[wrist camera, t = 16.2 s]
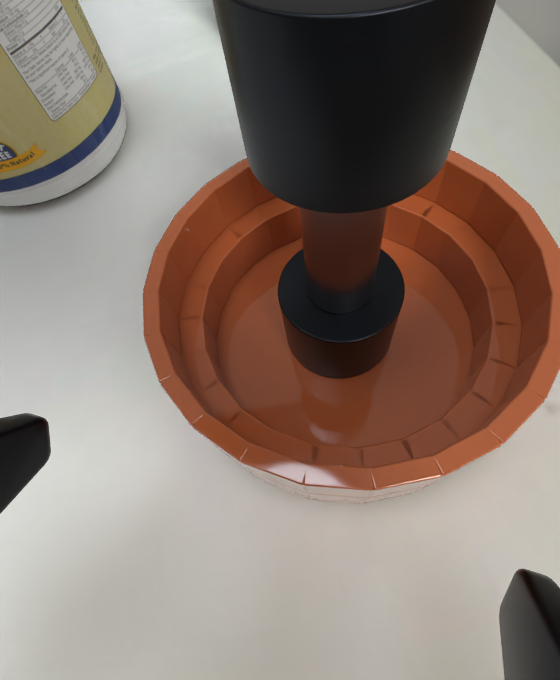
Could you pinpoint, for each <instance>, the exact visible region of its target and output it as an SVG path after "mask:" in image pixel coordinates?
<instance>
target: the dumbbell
mask: <svg viewBox="0 0 560 680" xmlns="http://www.w3.org/2000/svg"><path fill="white" fill-rule="evenodd" d="M212 1H213V6H214V10H215V15H216V20H217V24H218V29H219V33H220V38H221V42H222V47H223V51H224V56H225V60H226V65H227V69H228V74H229V78H230V83H231V87H232V92H233V96H234V101H235V105H236V110H237V114H238V119H239V123H240V128H241V133H242V137H243V142H244V146H245V151H246V155H247V160H248V163H249V166H250V169H251V170H252V172H253V174H254V176H255V177H256V179H257V180H258V181H259V182H260V183H261V185H262V186H263V187H264V188H266V189H267V190H268V191H269V192H270V193H271V194H273V195H275V196H276V197H278V198H279V199H281V200H283V201H285V202H287V203H289V204H291V205H294V206H297V207H299V210H300V220H301V231H302V241H303V249H301V250H300V251H298V252H297V253H296V254H295V255H294V256H293V257H292V258H291V259H290V260H289V261H288V263H287V264H286V266H285V267H284V269H283V271H282V273H281V275H280V279H279V283H278V299H279V304H280V309H281V313H282V318H283V322H284V327H285V331H286V336H287V341H288V344H289V347H290V349H291V351H292V353H293V355H294V356H295V358H296V359H297V360H298V361H299V362H300V363H301V364H302V365H303V366H304V367H305V368H307V369H308V370H310V371H312V372H314V373H316V374H318V375H321V376H324V377H329V378H350V377H355V376H358V375H361V374H363V373H365V372H367V371H369V370H371V369H372V368H374V367H375V366H376V365H377V364H378V363H379V362H380V361H381V360H382V359H383V357H384V356H385V355H386V353H387V351H388V349H389V346H390V343H391V340H392V337H393V333H394V330H395V327H396V324H397V320H398V317H399V314H400V311H401V307H402V304H403V301H404V295H405V285H404V279H403V276H402V273H401V271H400V269H399V267H398V265H397V264H396V263H395V261H394V260H393V259H392V258H391V257H390V256H389V255H388V254H387V253H386V252H385V251H384V250H382V249H381V242H382V236H383V230H384V224H385V219H386V213H387V207H388V206H390V205H392V204H395V203H397V202H400V201H402V200H404V199H406V198H408V197H410V196H411V195H413V194H415V193H416V192H418V191H419V190H421V189H422V188H423V187H425V186H426V185H427V184H428V183H429V182H430V181H431V180H432V179H433V178H434V177H435V176H436V175H437V174H438V172H439V171H440V170H441V168H442V167H443V165H444V163H445V161H446V159H447V157H448V154H449V151H450V148H451V144H452V141H453V138H454V135H455V131H456V128H457V125H458V122H459V118H460V115H461V112H462V109H463V105H464V102H465V99H466V96H467V92H468V89H469V86H470V83H471V79H472V76H473V73H474V70H475V66H476V63H477V60H478V57H479V53H480V50H481V47H482V44H483V40H484V37H485V34H486V30H487V27H488V24H489V21H490V17H491V14H492V11H493V8H494V4H495V1H496V0H212Z"/></svg>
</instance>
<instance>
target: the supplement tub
mask: <svg viewBox="0 0 560 680" xmlns="http://www.w3.org/2000/svg"><path fill="white" fill-rule="evenodd" d="M126 124H127V118H126V110H125V105H124V100H123V96H122V94H121V92H120V90H119V88H118V86H117V84H116V82H115V80H114V77H113V75H112V73H111V71H110V69H109V67H108V65H107V63H106V61H105V58H104V56H103V54H102V52H101V50H100V48H99V45H98V43H97V41H96V39H95V37H94V34H93V32H92V30H91V28H90V26H89V24H88V21H87V19H86V17H85V15H84V13H83V11H82V9H81V6H80V4H79V2H78V0H0V205H2V206H20V205H29V204H35V203H40V202H44V201H48V200H51V199H54V198H57V197H59V196H62V195H64V194H67V193H69V192H71V191H73V190H74V189H76V188H78V187H80V186H82V185H83V184H85V183H86V182H88V181H89V180H91V179H92V178H93V177H95V176H96V175H97V174H99V173H100V172H101V171H102V170H103V169H104V168H105V167H106V166H107V165H108V164H109V163H110V162H111V161H112V159H113V158H114V156H115V155H116V153H117V152H118V150H119V148H120V146H121V144H122V142H123V139H124V136H125V131H126Z"/></svg>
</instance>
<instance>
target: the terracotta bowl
mask: <svg viewBox="0 0 560 680" xmlns="http://www.w3.org/2000/svg"><path fill="white" fill-rule="evenodd" d="M301 249H303V241H302V231H301V220H300V210H299V207H297V206H294V205H291V204H289V203H287V202H285V201H283V200H281V199H279V198H278V197H276V196H275V195H273V194H271V193H270V192H269V191H268V190H267V189H266V188H264V187H263V186H262V185H261V183H260V182H259V181H258V180H257V179H256V177H255V176H254V174H253V172H252V170H251V169H250V166H249V163H248V160H247V158H246V159H243V160H241V162H240V161H239V162H238V163H236V164H235V165H233V166H232V167H230V168H229V169H227V170H226V171H224V172H223V173H221V174H220V175H218V176H217V177H215V178H214V179H212V180H211V181H209V182H208V183H206V185H204V186H203V187H202V188H201V189H200V190H199V191H198V192H197V193H196V194H195V195H194V196H193V197H192V198H191V199H190V200H189V201H188V202H187V203H186V204H185V205H184V206H183V208H182V209H181V210H180V211H179V212H178V213H177V215H175V217H174V218H173V220H172V222H171V223H170V225H169V227H168V228H167V230H166V232H165V233H164V235H163V237H162V238H161V240H160V242H159V243H158V245H157V247H156V249H155V251H154V254H153V257H152V261H151V265H150V268H149V272H148V275H147V279H146V283H145V286H144V290H143V291H144V292H143V316H144V337H145V342H146V345H147V348H148V351H149V354H150V357H151V360H152V363H153V365H154V368H155V371H156V374H157V377H158V380H159V382H160V383H161V386H162V387H163V389H164V390H165V391H166V393H167V394H168V395H169V397H170V398H171V399H172V401H173V402H174V404H175V405H176V406H177V408H178V409H179V410H180V412H181V413H182V414H183V416H184V417H185V418H186V420H187V421H188V422H189V424H190V425H191V426H192V427H193V428H194V429H195V430H196V431H198V432H199V433H200V434H201V435H203V436H204V437H205V438H207V439H208V440H209V441H210V442H212V443H213V444H214V445H215V446H217V447H218V448H219V449H221V450H222V451H223V452H224V453H226V454H227V455H228V456H230V457H231V458H232V459H234V460H235V461H236V462H238V463H239V464H240V465H242V466H243V467H244V468H246V469H247V470H248V471H250V472H251V473H253V474H254V475H255V476H257V477H258V478H259V479H261V480H263V481H264V482H266V483H269V484H271V485H274V486H277V487H279V488H282V489H285V490H287V491H290V492H293V493H295V494H298V495H301V496H304V497H306V498H309V499H310V498H311V499H316V500H329V501H341V502H353V503H361V502H363V503H366V502H371V501H376V500H381V499H386V498H391V497H396V496H401V495H406V494H410V493H413V492H416V491H418V490H420V489H422V488H423V487H425V486H427V485H429V484H431V483H433V482H435V481H437V480H438V479H440V478H442V477H444V476H446V475H448V474H450V473H452V472H453V471H455V470H457V469H459V468H461V467H463V466H465V465H466V464H468V463H470V462H472V461H474V460H476V459H478V458H480V457H481V456H483V455H485V454H487V453H489V452H491V451H493V450H494V449H496V448H498V447H500V446H501V445H502V444H504V443H505V442H506V441H507V440H508V439H509V438H510V437H511V436H512V435H513V434H514V433H515V432H516V431H517V430H518V429H519V428H520V426H521V425H522V424H523V423H524V422H525V421H526V420H527V419H528V418H529V417H530V416H531V415H532V414H533V413H534V412H535V411H536V410H537V409H538V408H539V407H540V406H541V404H542V403H543V402H544V400H545V399H546V398H547V396H548V394H549V392H550V389H551V387H552V385H553V383H554V380H555V378H556V376H557V374H558V372H559V369H560V249H559V248H558V245H557V244H556V242H555V241H554V239H553V238H552V236H551V234H550V233H549V231H548V230H547V228H546V227H545V225H544V224H543V222H542V221H541V219H540V217H539V216H538V214H537V213H536V211H535V210H534V208H532V206H531V205H530V204H529V203H528V202H527V201H526V200H524V199H523V198H522V197H521V196H520V195H519V194H518V193H517V192H516V191H514V190H513V189H512V188H511V187H510V186H509V185H508V184H507V183H506V182H504V181H503V180H502V179H501V178H500V177H499V176H497V175H496V174H494V173H493V172H491V171H489V170H487V169H486V168H484V167H482V166H480V165H478V164H477V163H475V162H473V161H471V160H469V159H468V158H466V157H464V156H462V155H460V154H459V153H456V152H455V151H452V150H450V151H449V154H448V157H447V159H446V161H445V163H444V165H443V167H442V168H441V170H440V171H439V172H438V174H437V175H436V176H435V177H434V178H433V179H432V180H431V181H430V182H429V183H428V184H427V185H426V186H425V187H423V188H422V189H421V190H419V191H418V192H416V193H415V194H413V195H411V196H410V197H408V198H406V199H404V200H402V201H400V202H397V203H395V204H392V205H390V206H388V207H387V213H386V219H385V224H384V230H383V236H382V242H381V249H382V250H384V251H385V252H386V253H387V254H388V255H389V256H390V257H391V258H392V259H393V260H394V261H395V263H396V264H397V265H398V267H399V269H400V271H401V273H402V276H403V279H404V285H405V295H404V301H403V304H402V307H401V311H400V314H399V317H398V320H397V324H396V327H395V330H394V333H393V337H392V340H391V343H390V346H389V349H388V351H387V353H386V355H385V356H384V357H383V359H382V360H381V361H380V362H379V363H378V364H377V365H376V366H375V367H374V368H372V369H371V370H369V371H367V372H365V373H363V374H361V375H358V376H355V377H350V378H329V377H324V376H321V375H318V374H316V373H314V372H312V371H310V370H308V369H307V368H305V367H304V366H303V365H302V364H301V363H300V362H299V361H298V360H297V359H296V358H295V356H294V355H293V353H292V351H291V349H290V347H289V344H288V341H287V336H286V331H285V327H284V322H283V318H282V313H281V309H280V304H279V299H278V283H279V279H280V275H281V273H282V271H283V269H284V267H285V266H286V264H287V263H288V261H289V260H290V259H291V258H292V257H293V256H294V255H295V254H296V253H297V252H298V251H300V250H301Z"/></svg>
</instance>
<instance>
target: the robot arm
mask: <svg viewBox="0 0 560 680" xmlns="http://www.w3.org/2000/svg"><path fill="white" fill-rule="evenodd" d="M50 453H51V447H50V436H49V425H48V422H47V420H46V419H45V418H43V417H40V416H37V415H34V414H29V413H24V414H19V415H14V416H9V417H5V418H0V513H1V512H2V511H3V510H4V509H5V508H6V507H7V506H8V505H9V504H10V502H11V501H12V500H13V499H14V498H15V497H16V496H17V495H18V494H19V492H20V491H21V490H22V489H23V488H24V487H25V486H26V485H27V484H28V482H29V481H30V480H31V479H32V478H33V477H34V476H35V475H36V474H37V472H38V471H39V470H40V469H41V468H42V467H43V466H44V465H45V463H46V462H47V461H48V459H49V456H50ZM499 621H500V633H501V644H502V655H503V666H504V678H505V680H560V588H559V587H558V586H557V585H556V583H555V582H554V581H553V580H552V579H550V578H549V577H547V576H545V575H542V574H539V573H536V572H533V571H530V570H526V569H519V570H518V571H516V573H515V574H514V576H513V579H512V581H511V583H510V585H509V587H508V590H507V592H506V594H505V596H504V599H503V601H502V603H501V607H500V613H499Z"/></svg>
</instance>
